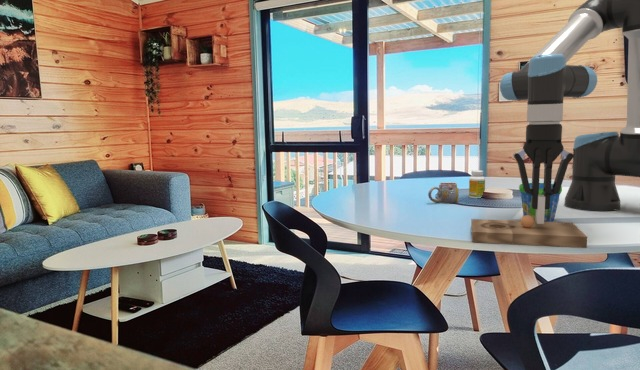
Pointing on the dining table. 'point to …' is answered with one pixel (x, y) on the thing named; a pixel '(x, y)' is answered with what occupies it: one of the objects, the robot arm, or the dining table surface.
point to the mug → (445, 193)
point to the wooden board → (527, 233)
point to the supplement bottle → (476, 184)
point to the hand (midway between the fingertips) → (539, 222)
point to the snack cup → (530, 211)
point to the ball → (527, 221)
